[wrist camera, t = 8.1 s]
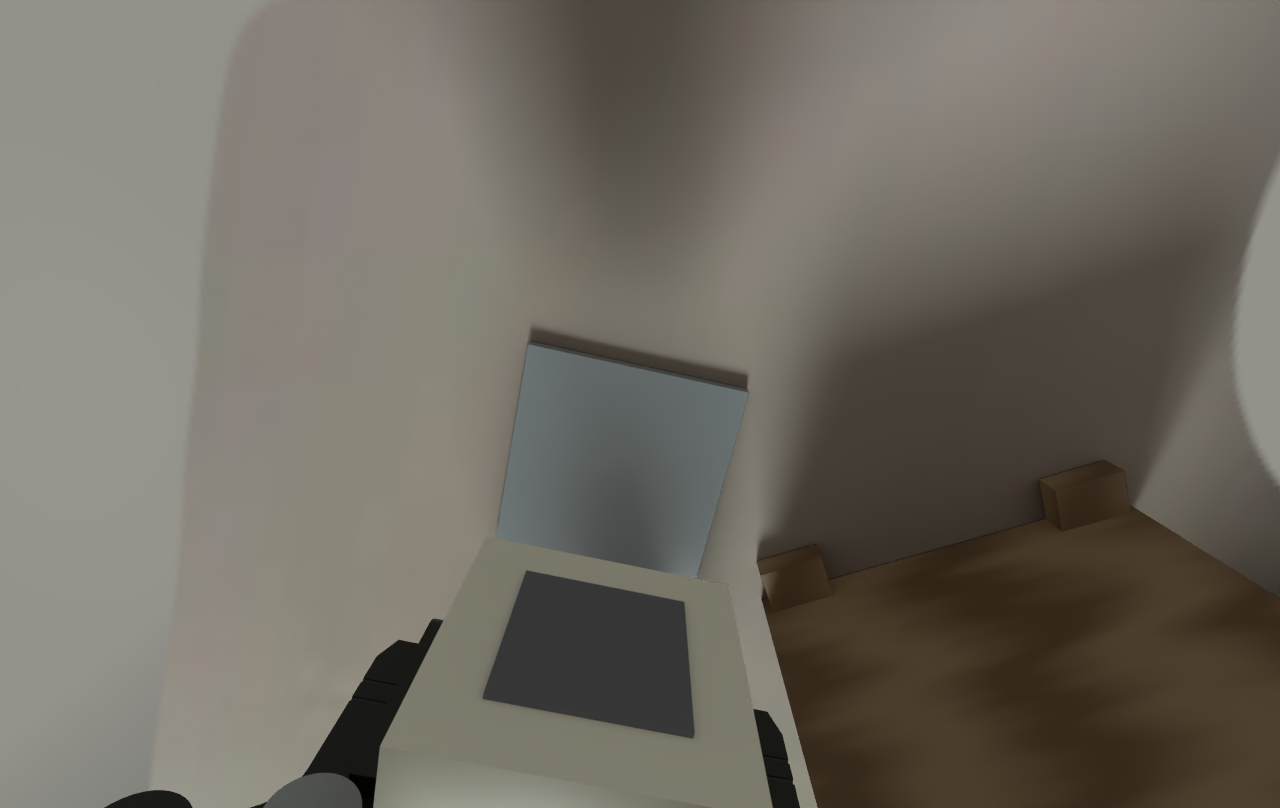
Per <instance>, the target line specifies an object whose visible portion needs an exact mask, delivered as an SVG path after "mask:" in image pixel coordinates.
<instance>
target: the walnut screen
mask: <svg viewBox="0 0 1280 808" xmlns="http://www.w3.org/2000/svg"><path fill="white" fill-rule="evenodd" d="M1039 483H1040V489H1041V494H1042V500H1043V505H1044V511H1045V517H1046V519H1043V520H1040V521H1036V522H1033V523H1029V524H1025V525H1022V526H1018V527H1015V528H1011V529H1008V530H1004V531H1001V532H997V533H994V534H990V535H986V536H983V537H979V538H976V539H972V540H969V541H965V542H962V543H958V544H955V545H951V546H947V547H944V548H940V549H937V550H933V551H930V552H926V553H923V554H919V555H916V556H912V557H909V558H905V559H901V560H898V561H894V562H891V563H887V564H884V565H880V566H877V567H873V568H870V569H866V570H862V571H859V572H855V573H852V574H848V575H845V576H841V577H838V578H834V579H831V580H828V576H827V573H826V570H825V566H824V563H823V560H822V557H821V555H820V553H819V551H818V549H817V547H816V544H814V545H811V546H807V547H804V548H801V549H797V550H794V551H790V552H787V553H783V554H780V555H776V556H773V557H770V558H766V559H763V560H759V561H757V565H758V568H759V572H760V575H761V578H762V581H763V584H764V587H765V590H766V593H767V596H768V597H767V598H763V599H762V602H763V606H764V610H765V614H766V617H767V621H768V625H769V628H770V632H771V636H772V640H773V643H774V647H775V651H776V654H777V658H778V662H779V666H780V669H781V673H782V677H783V680H784V684H785V688H786V691H787V695H788V699H789V703H790V706H791V710H792V714H793V717H794V721H795V725H796V729H797V732H798V736H799V740H800V743H801V747H802V751H803V755H804V758H805V762H806V766H807V769H808V773H809V777H810V781H811V784H812V788H813V792H814V795H815V799H816V803H817V807H818V808H1280V599H1279V598H1278V597H1276V596H1275V595H1273V594H1271V593H1270V592H1268V591H1267V590H1265V589H1263V588H1262V587H1260V586H1259V585H1257V584H1255V583H1254V582H1252V581H1251V580H1249V579H1247V578H1246V577H1244V576H1243V575H1241V574H1239V573H1238V572H1236V571H1235V570H1233V569H1231V568H1230V567H1228V566H1227V565H1225V564H1223V563H1222V562H1220V561H1219V560H1217V559H1215V558H1214V557H1212V556H1211V555H1209V554H1207V553H1206V552H1204V551H1203V550H1201V549H1199V548H1198V547H1196V546H1195V545H1193V544H1191V543H1190V542H1188V541H1187V540H1185V539H1183V538H1182V537H1180V536H1179V535H1177V534H1175V533H1174V532H1172V531H1171V530H1169V529H1167V528H1166V527H1164V526H1163V525H1161V524H1159V523H1158V522H1156V521H1155V520H1153V519H1151V518H1150V517H1148V516H1147V515H1145V514H1143V513H1142V512H1140V511H1139V510H1137V509H1136V508H1134V507H1132V506H1131V505H1129V501H1128V493H1127V485H1126V478H1125V471H1124V470H1122V469H1120V468H1118V467H1116V466H1115V465H1113V464H1111V463H1109V462H1107V461H1106V460H1104V461H1100V462H1097V463H1093V464H1090V465H1086V466H1083V467H1079V468H1076V469H1073V470H1069V471H1066V472H1062V473H1059V474H1055V475H1052V476H1048V477H1045V478H1042V479H1039Z"/></svg>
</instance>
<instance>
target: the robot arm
mask: <svg viewBox="0 0 1280 808" xmlns="http://www.w3.org/2000/svg"><path fill="white" fill-rule="evenodd" d="M443 621H444V620H439V619H432V620H431V622H430V623H429V625H428V627H427V629H426V631H425V633H424V634H423V636H422V638H421V640H420V642H419V644H417V643H412V642H407V641H402V640H398V641H397V642H395V643H394V644H393V645H391V646H390V647H389V648H387V649H386V650H385V651H383V652H382V653H381V654H379V655H378V656H377V657H376V659H375V660H374V662H373V663H372V665H371V667H370V668H369V670H368V672H367V673H366V675H365V676H364V679H363V682H361V683H360V685H359V686H358V688H357V690H356V691H355V693H354V694H353V697H352V700H350V701H349V703H348V704H347V706H346V707H345V709H344V711H343V712H342V714H341V716H340V717H339V719H338V721H337V722H336V724H335V725H334V727H333V729H332V730H331V732H330V734H329V735H328V737H327V738H326V740H325V742H324V743H323V745H322V747H321V748H320V750H319V752H318V753H317V755H316V756H315V758H314V760H313V761H312V763H311V765H310V766H309V768H308V769H307V771H306V772H305V773H304V775H303V776H302V777H300V778H298V779H296V780H294V781H292V782H290V783H288V784H287V785H285V786H284V787H282V788H281V789H280V790H278V791H277V792H276V793H275V794H274V795H273V796H272V797H271V798H270V799H269V800H268V802H265V803H263V804H261V805H257V806H254V807H251V808H373V805H374V796H375V786H376V777H377V768H378V759H379V750H380V745H381V743H382V741H383V739H384V737H385V735H386V733H387V731H388V729H389V727H390V725H391V723H392V721H393V720H394V718H395V716H396V714H397V712H398V710H399V708H400V706H401V704H402V702H403V700H404V698H405V696H406V694H407V692H408V690H409V688H410V686H411V684H412V682H413V680H414V678H415V676H416V674H417V672H418V670H419V668H420V666H421V664H422V662H423V660H424V658H425V656H426V654H427V652H428V650H429V648H430V646H431V644H432V642H433V640H434V638H435V636H436V634H437V632H438V631H439V629H440V627H441V625H442V623H443ZM753 711H754V716H755V721H756V726H757V731H758V736H759V741H760V746H761V751H762V756H763V761H764V766H765V771H766V776H767V781H768V786H769V791H770V796H771V802H772V807H773V808H800V806H799V802H798V798H797V793H796V789H795V785H793V777H792V773H791V769H790V764H788V756H787V752H786V748H785V744H784V740H783V736H782V734H781V732H780V731H779V729H778V727H777V726H776V724H775V723H774V721H773V720H772V718H771V717H770V715H769V714H768V712H766V711H761V710H755V709H753ZM105 808H192V806H191V804H190V802H189V801H188V800H187V799H186V798H185V797H183V796H182V795H180V794H178V793H175V792H171V791H165V790H153V791H146V792H141V793H138V794H133V795H131V796H128V797H125V798H122V799H120V800H118V801H116V802H114V803H112V804H110V805H108V806H107V807H105Z"/></svg>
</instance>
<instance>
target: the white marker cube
mask: <svg viewBox="0 0 1280 808" xmlns="http://www.w3.org/2000/svg"><path fill="white" fill-rule="evenodd" d="M373 808H773V807H772V802H771V796H770V791H769V786H768V781H767V776H766V771H765V766H764V761H763V756H762V751H761V746H760V741H759V736H758V731H757V726H756V721H755V716H754V711H753V706H752V701H751V696H750V691H749V685H748V680H747V675H746V670H745V665H744V660H743V655H742V650H741V645H740V640H739V635H738V630H737V625H736V620H735V615H734V610H733V605H732V600H731V595H730V590H729V585H725V584H721V583H716V582H711V581H706V580H701V579H696V578H691V577H686V576H681V575H676V574H671V573H666V572H661V571H656V570H651V569H646V568H641V567H636V566H631V565H626V564H621V563H616V562H611V561H606V560H601V559H596V558H591V557H586V556H581V555H577V554H572V553H567V552H562V551H557V550H552V549H547V548H542V547H537V546H532V545H527V544H522V543H517V542H512V541H507V540H502V539H497V538H492V537H487V536H486V538H485V540H484V542H483V543H482V545H481V547H480V549H479V551H478V553H477V555H476V557H475V559H474V561H473V563H472V565H471V567H470V569H469V571H468V573H467V575H466V577H465V579H464V581H463V583H462V585H461V587H460V589H459V591H458V593H457V595H456V597H455V599H454V601H453V603H452V605H451V607H450V609H449V611H448V613H447V615H446V617H445V619H444V621H443V623H442V625H441V627H440V629H439V631H438V632H437V634H436V636H435V638H434V640H433V642H432V644H431V646H430V648H429V650H428V652H427V654H426V656H425V658H424V660H423V662H422V664H421V666H420V668H419V670H418V672H417V674H416V676H415V678H414V680H413V682H412V684H411V686H410V688H409V690H408V692H407V694H406V696H405V698H404V700H403V702H402V704H401V706H400V708H399V710H398V712H397V714H396V716H395V718H394V720H393V721H392V723H391V725H390V727H389V729H388V731H387V733H386V735H385V737H384V739H383V741H382V743H381V745H380V750H379V759H378V768H377V777H376V786H375V796H374V805H373Z"/></svg>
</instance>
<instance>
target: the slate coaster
mask: <svg viewBox="0 0 1280 808" xmlns="http://www.w3.org/2000/svg"><path fill="white" fill-rule="evenodd" d="M748 396H749V391H748V389H746V388H741V387H736V386H732V385H727V384H723V383H718V382H714V381H709V380H705V379H700V378H695V377H691V376H686V375H682V374H677V373H673V372H668V371H664V370H659V369H654V368H650V367H645V366H641V365H636V364H632V363H627V362H623V361H618V360H614V359H609V358H604V357H600V356H595V355H591V354H586V353H582V352H577V351H573V350H568V349H563V348H559V347H554V346H550V345H545V344H541V343H536V342H532V341H531V342H530V343H529V344H528V347H527V353H526V359H525V365H524V371H523V377H522V383H521V389H520V395H519V401H518V407H517V413H516V419H515V425H514V431H513V437H512V443H511V449H510V455H509V462H508V468H507V474H506V480H505V486H504V492H503V498H502V504H501V510H500V516H499V522H498V528H497V534H496V538H497V539H502V540H507V541H512V542H517V543H522V544H527V545H532V546H537V547H542V548H547V549H552V550H557V551H562V552H567V553H572V554H577V555H581V556H586V557H591V558H596V559H601V560H606V561H611V562H616V563H621V564H626V565H631V566H636V567H641V568H646V569H651V570H656V571H661V572H666V573H671V574H676V575H681V576H686V577H691V578H696V577H697V573H698V570H699V566H700V563H701V559H702V556H703V552H704V549H705V545H706V542H707V538H708V535H709V531H710V528H711V525H712V521H713V518H714V514H715V511H716V507H717V504H718V500H719V497H720V493H721V490H722V486H723V483H724V479H725V476H726V472H727V469H728V465H729V462H730V458H731V455H732V451H733V448H734V444H735V441H736V437H737V434H738V431H739V427H740V424H741V420H742V417H743V413H744V410H745V406H746V403H747V399H748Z"/></svg>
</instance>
